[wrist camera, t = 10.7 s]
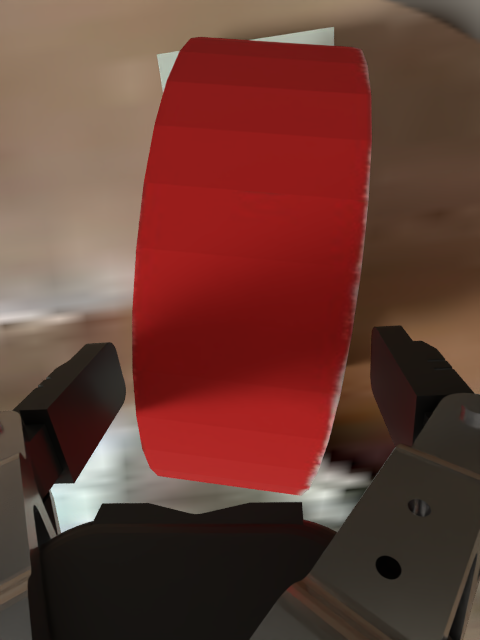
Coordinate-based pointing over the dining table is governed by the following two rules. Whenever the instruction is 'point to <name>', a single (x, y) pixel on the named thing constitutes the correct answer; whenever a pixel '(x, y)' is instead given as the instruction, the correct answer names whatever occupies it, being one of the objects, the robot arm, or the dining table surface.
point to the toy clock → (250, 260)
